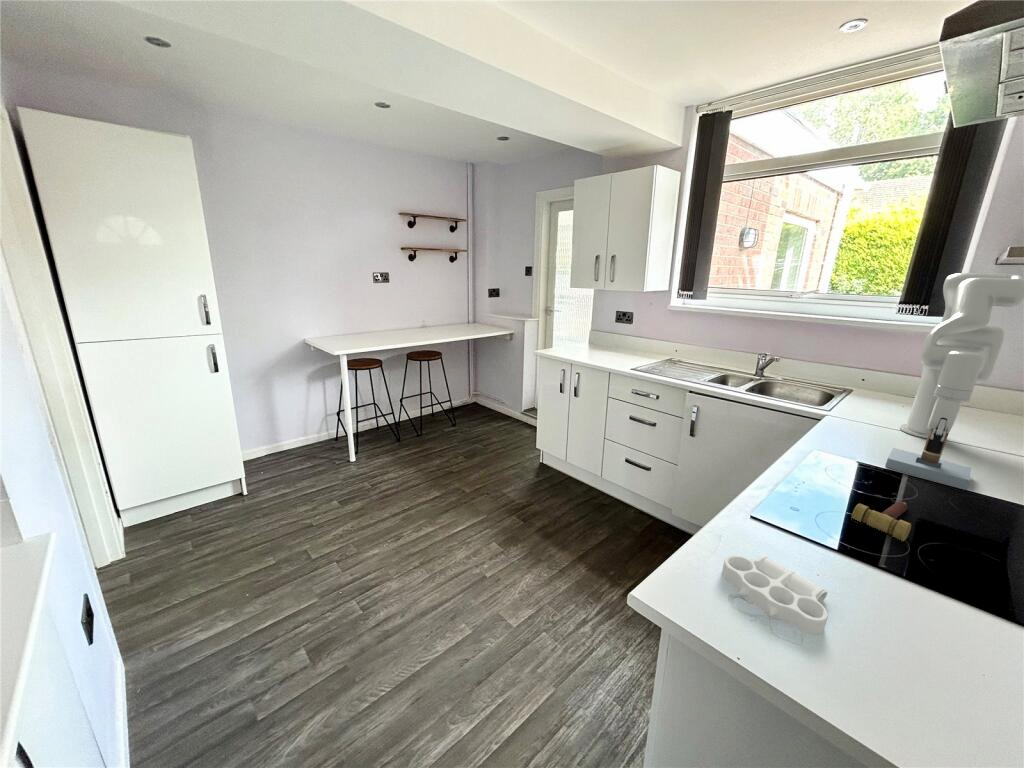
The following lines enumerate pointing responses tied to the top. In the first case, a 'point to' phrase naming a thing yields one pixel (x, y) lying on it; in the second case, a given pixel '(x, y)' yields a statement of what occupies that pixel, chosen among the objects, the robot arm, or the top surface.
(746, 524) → the top surface
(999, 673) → the top surface
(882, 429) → the top surface
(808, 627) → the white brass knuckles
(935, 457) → the peg
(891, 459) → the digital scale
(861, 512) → the gavel
